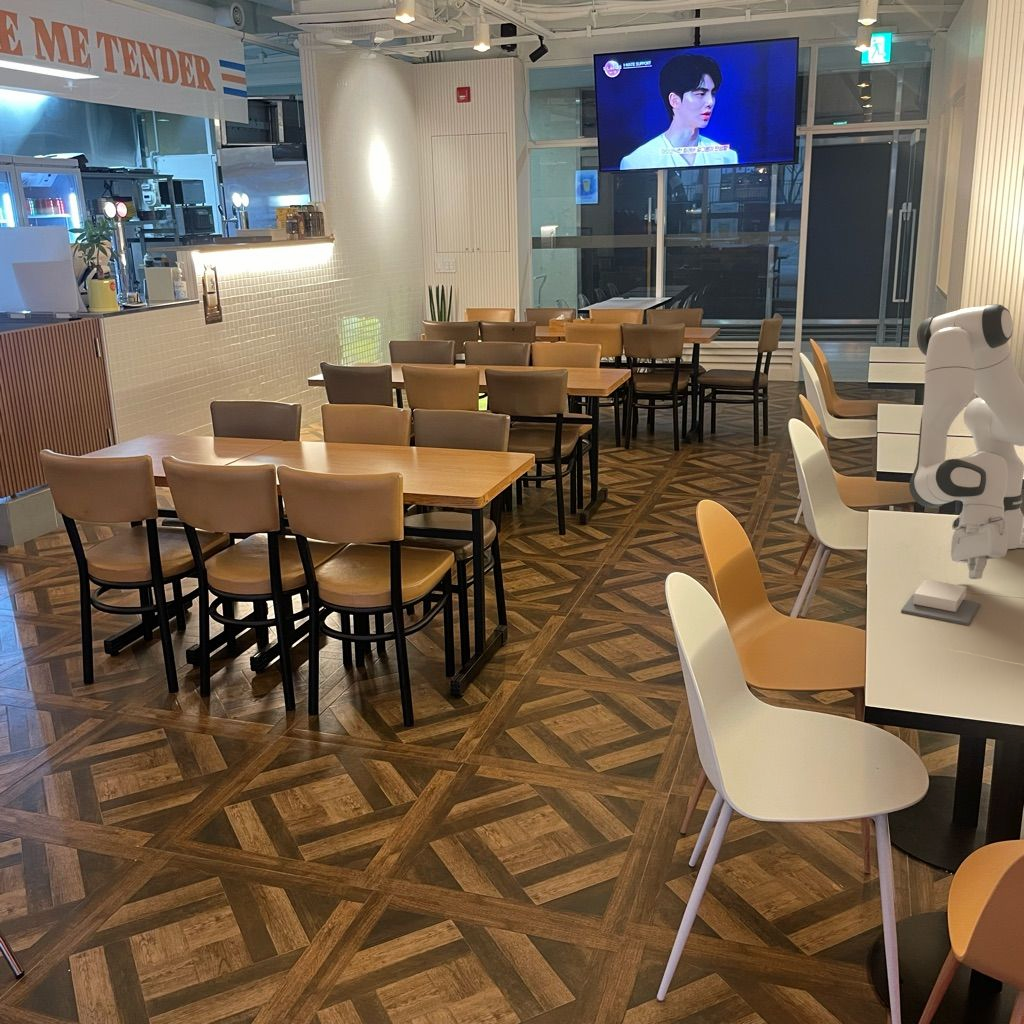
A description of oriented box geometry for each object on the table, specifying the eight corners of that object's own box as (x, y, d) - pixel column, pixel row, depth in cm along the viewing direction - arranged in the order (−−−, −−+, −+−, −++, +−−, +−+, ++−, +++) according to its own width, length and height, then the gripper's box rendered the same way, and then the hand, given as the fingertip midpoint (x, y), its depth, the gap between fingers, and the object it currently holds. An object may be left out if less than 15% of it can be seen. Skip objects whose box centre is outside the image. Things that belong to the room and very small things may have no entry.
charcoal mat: (915, 593, 232) (915, 590, 232) (980, 605, 225) (980, 602, 225) (900, 612, 221) (901, 609, 221) (968, 625, 214) (968, 622, 214)
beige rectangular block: (925, 579, 232) (914, 593, 223) (966, 586, 227) (956, 601, 218) (923, 590, 233) (912, 604, 224) (965, 598, 228) (955, 613, 219)
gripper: (1018, 517, 222) (1011, 578, 220) (974, 527, 242) (967, 583, 241) (991, 512, 222) (984, 573, 220) (948, 523, 242) (942, 578, 241)
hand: (975, 578), depth 231 cm, fingers closed
